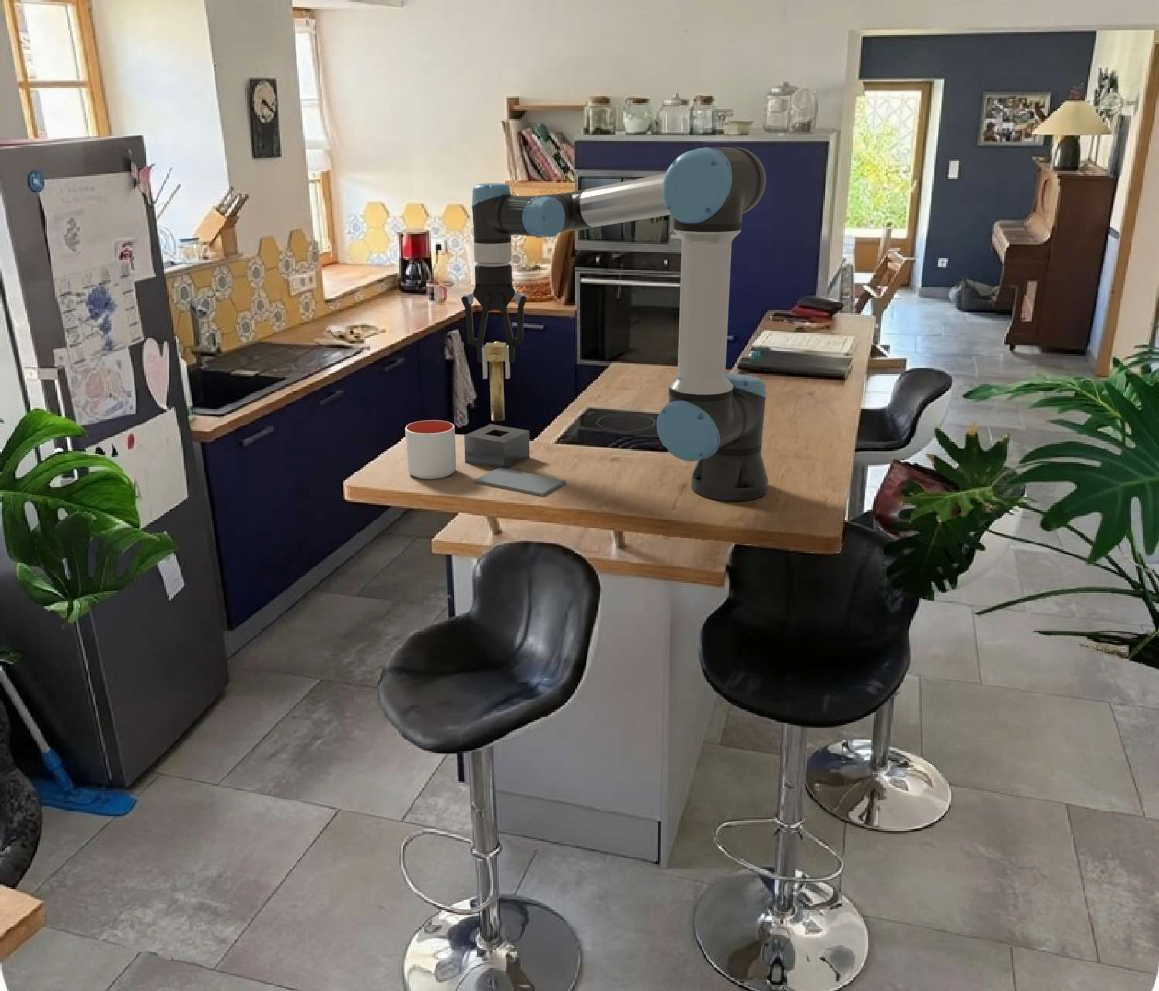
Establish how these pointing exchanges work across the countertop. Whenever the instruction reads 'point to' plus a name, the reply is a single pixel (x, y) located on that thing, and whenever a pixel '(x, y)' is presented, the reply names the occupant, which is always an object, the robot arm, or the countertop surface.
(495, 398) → the brass ball-end t-bar
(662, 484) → the countertop surface
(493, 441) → the block
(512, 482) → the mat
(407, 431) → the cup
